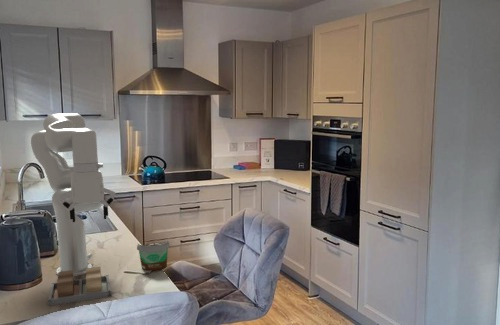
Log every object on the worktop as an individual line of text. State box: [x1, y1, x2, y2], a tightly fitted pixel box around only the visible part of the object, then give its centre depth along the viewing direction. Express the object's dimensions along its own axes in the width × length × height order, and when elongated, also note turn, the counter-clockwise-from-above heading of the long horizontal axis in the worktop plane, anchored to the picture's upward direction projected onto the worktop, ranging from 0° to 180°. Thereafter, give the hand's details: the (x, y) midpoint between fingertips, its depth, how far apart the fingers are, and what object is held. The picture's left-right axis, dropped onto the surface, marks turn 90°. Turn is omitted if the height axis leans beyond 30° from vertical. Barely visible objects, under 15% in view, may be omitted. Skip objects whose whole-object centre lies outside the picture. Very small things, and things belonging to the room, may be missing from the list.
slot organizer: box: [48, 274, 112, 306], centre depth 149 cm, size 15×18×2 cm
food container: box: [136, 238, 171, 273], centre depth 168 cm, size 12×6×10 cm, turn 114°
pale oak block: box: [85, 266, 102, 293], centre depth 151 cm, size 10×4×6 cm, turn 19°
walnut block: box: [56, 270, 75, 298], centre depth 148 cm, size 10×4×6 cm, turn 20°
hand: (89, 219), depth 148 cm, fingers open, 9 cm apart
